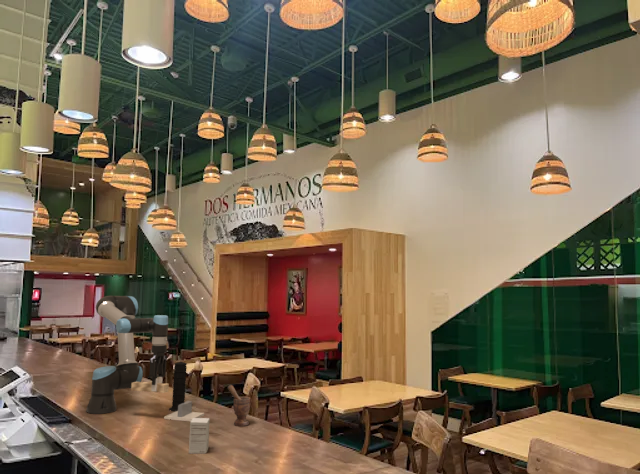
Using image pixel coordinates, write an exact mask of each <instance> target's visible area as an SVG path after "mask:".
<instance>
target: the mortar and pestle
mask: <svg viewBox="0 0 640 474" xmlns="http://www.w3.org/2000/svg"><path fill="white" fill-rule="evenodd" d="M227 390H228V391H229V393H230V394H231V395H232V396H233V397H234V398H233V405H232V406H233V411H234V415H235V416H236V419H235V421H234V422H233V425H234V426H237V427H247V426H248V425H249V423H250V422H249V420H248V419H247V416H248V415H249V412H250V409H251V400H252V399H251V397H250V396H239V394H238V393H237V390H236V389H235V387H234V385H232V384H229V385H228V386H227Z"/></svg>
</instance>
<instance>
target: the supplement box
mask: <svg viewBox="0 0 640 474" xmlns="http://www.w3.org/2000/svg"><path fill="white" fill-rule="evenodd" d="M210 421H211V420H210V417H200V418H193V419H192V420H191V421H189V436H188V437H189V438H188V441H189V442H188V454H192V455H193V454H197V455H198V454H201V455H202V454H207V452H208V450H209V438H210Z"/></svg>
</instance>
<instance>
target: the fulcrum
mask: <svg viewBox="0 0 640 474" xmlns="http://www.w3.org/2000/svg"><path fill="white" fill-rule="evenodd" d="M204 416H205V412H197V411H196V412H195V411H193V401H192V400H186V401H184V403H182V404H180V405H178V411H172V413H169V414H167V415H165V416H164V417H163V419H164V420H170V419H171V420H173V421H183V422H184V421H185V422H191V420H192V419H193V418H203V417H204ZM171 420H170V421H171Z"/></svg>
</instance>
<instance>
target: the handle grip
mask: <svg viewBox="0 0 640 474" xmlns="http://www.w3.org/2000/svg"><path fill="white" fill-rule="evenodd" d="M187 364H188V363H187V362H183V361H177V362H174V367H173V371H174V372H173V382H172V383H173V385H172V387H173V388H172V402H171V404H172V406H171V407H169V409H168V411H170V410H171V412H176V411H178V405H180V404H182V403H184V402H185V401H186V400H185V399H186V385H187V384H186V383H187V381H186V380H187V368H188V367H187Z"/></svg>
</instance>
